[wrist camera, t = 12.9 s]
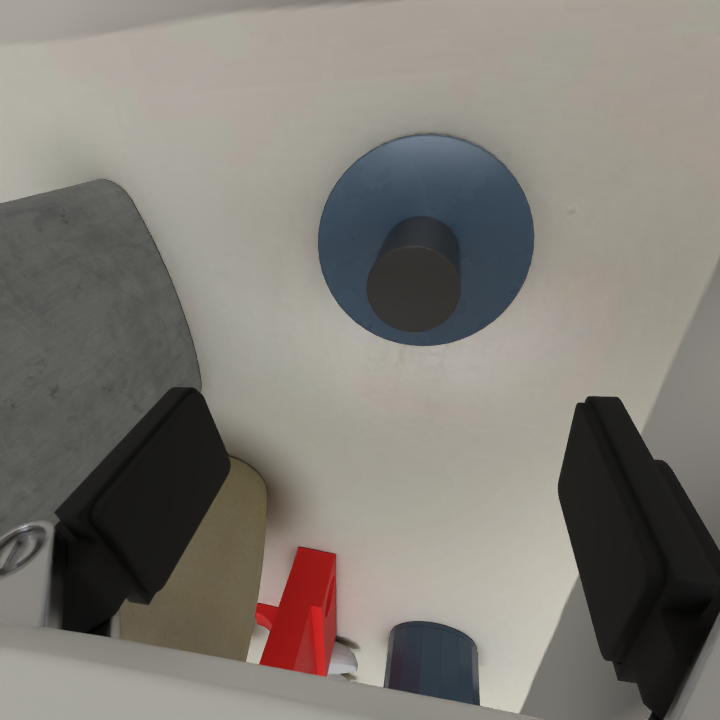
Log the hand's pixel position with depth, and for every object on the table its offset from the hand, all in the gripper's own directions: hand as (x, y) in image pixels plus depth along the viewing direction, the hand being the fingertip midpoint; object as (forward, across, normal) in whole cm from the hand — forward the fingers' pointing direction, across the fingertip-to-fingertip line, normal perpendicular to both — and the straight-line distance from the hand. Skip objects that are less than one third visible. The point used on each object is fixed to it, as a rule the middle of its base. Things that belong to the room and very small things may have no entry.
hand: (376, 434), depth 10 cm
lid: (+14, 0, 0) cm, 14 cm away
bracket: (+14, +16, +39) cm, 44 cm away
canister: (+14, 0, +47) cm, 49 cm away
